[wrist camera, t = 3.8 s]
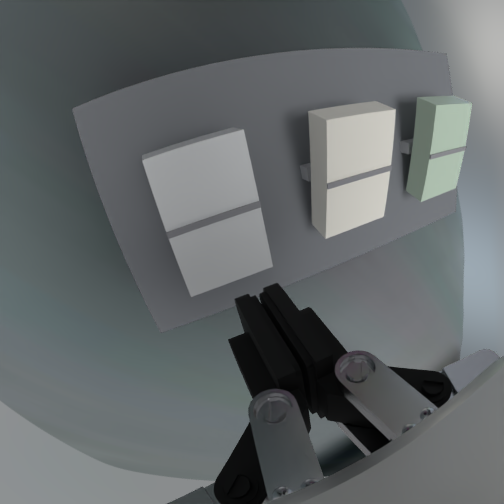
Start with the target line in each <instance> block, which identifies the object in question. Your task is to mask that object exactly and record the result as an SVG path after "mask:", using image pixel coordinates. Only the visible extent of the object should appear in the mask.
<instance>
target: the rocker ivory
mask: <svg viewBox="0 0 504 504" xmlns="http://www.w3.org/2000/svg"><path fill="white" fill-rule="evenodd" d="M395 114H396V109H394V108H391V107H389V106H387V105H384V104H382V103H379V102H377V101H372V102H363V103H356V104H349V105H342V106H335V107H329V108H323V109H317V110H311V111H308V117H309V137H310V162H311V206H312V225H313V226H314V227H315V228H316V229H317V230H318V231H319V232H320V233H321V235H322V236H323V237H324V238H325V239H327V238H330V237H332V236H335V235H338V234H340V233H343V232H345V231H348V230H351V229H353V228H356V227H358V226H361V225H364V224H366V223H369V222H371V221H374V220H376V219H379V218H382V217H384V212H385V206H386V199H387V192H388V185H389V178H390V171H392V165H391V161H392V151H393V141H394V129H395Z"/></svg>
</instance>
